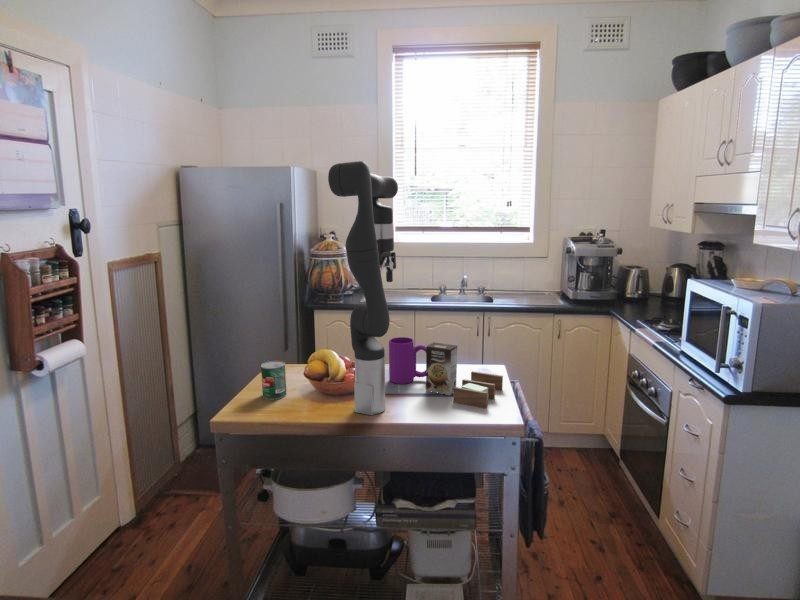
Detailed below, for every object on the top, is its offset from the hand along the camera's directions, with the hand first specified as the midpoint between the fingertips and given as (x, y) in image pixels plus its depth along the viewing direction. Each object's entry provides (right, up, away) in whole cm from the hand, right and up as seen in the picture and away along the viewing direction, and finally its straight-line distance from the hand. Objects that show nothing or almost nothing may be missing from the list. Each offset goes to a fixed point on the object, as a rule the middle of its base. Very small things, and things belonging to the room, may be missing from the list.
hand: (383, 283), depth 183 cm
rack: (+32, -38, -8) cm, 50 cm away
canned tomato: (-37, -38, -6) cm, 53 cm away
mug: (+10, -35, +8) cm, 37 cm away
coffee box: (+20, -37, -3) cm, 42 cm away
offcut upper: (+30, -36, -12) cm, 49 cm away
